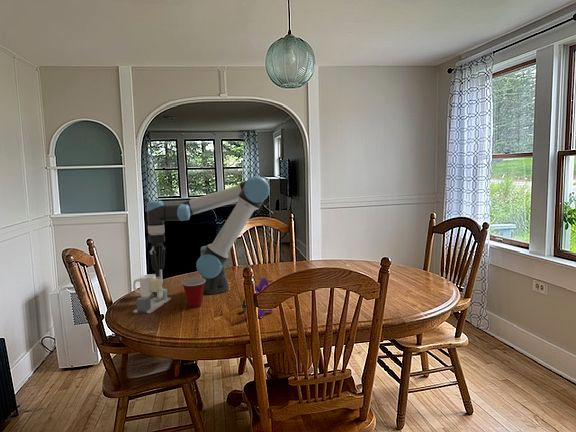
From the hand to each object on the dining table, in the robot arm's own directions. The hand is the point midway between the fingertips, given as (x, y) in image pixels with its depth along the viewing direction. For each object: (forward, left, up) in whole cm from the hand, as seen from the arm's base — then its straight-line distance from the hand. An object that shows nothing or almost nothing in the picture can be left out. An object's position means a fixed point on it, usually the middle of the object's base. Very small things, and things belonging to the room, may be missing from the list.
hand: (159, 282), depth 206 cm
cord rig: (0, +8, -9) cm, 12 cm away
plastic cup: (-20, +7, -9) cm, 23 cm away
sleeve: (0, +4, -6) cm, 8 cm away
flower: (-50, +14, -9) cm, 53 cm away
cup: (+11, -6, -9) cm, 15 cm away
